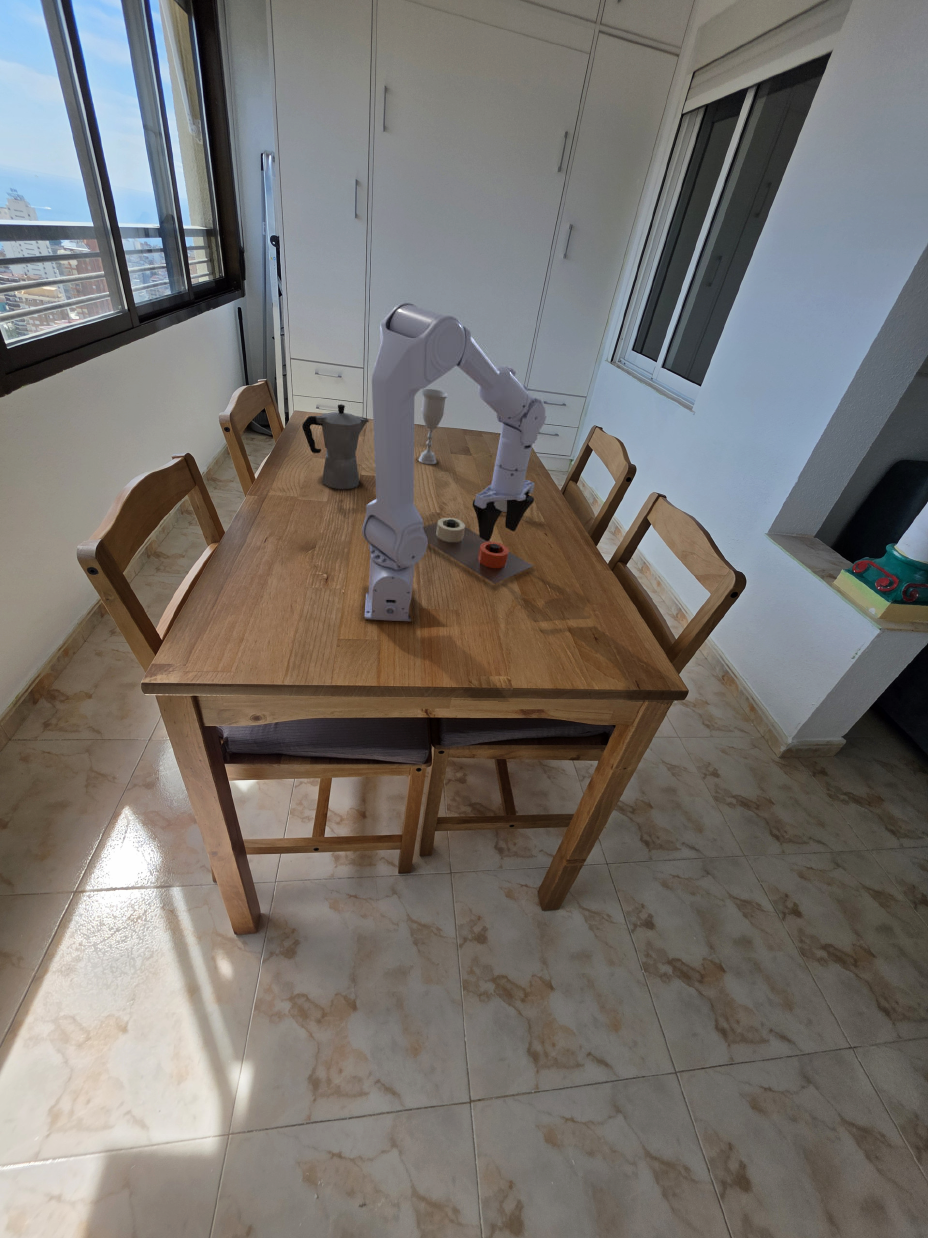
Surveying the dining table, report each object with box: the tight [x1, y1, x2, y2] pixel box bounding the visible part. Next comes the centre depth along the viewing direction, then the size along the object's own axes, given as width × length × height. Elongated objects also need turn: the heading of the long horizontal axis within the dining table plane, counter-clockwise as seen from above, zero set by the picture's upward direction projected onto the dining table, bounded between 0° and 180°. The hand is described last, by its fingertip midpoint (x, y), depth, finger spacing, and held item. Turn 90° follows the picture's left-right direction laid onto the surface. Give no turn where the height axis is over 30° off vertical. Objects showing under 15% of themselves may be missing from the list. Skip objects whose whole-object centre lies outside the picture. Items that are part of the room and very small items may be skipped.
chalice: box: [418, 388, 449, 465], centre depth 143 cm, size 7×7×18 cm
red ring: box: [478, 541, 510, 568], centre depth 105 cm, size 6×6×3 cm
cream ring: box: [436, 517, 466, 542], centre depth 111 cm, size 6×6×3 cm
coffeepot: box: [301, 404, 370, 490], centre depth 123 cm, size 15×9×18 cm, turn 121°
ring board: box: [423, 519, 534, 585], centre depth 108 cm, size 24×12×4 cm, turn 46°
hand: (497, 533), depth 102 cm, fingers open, 7 cm apart
